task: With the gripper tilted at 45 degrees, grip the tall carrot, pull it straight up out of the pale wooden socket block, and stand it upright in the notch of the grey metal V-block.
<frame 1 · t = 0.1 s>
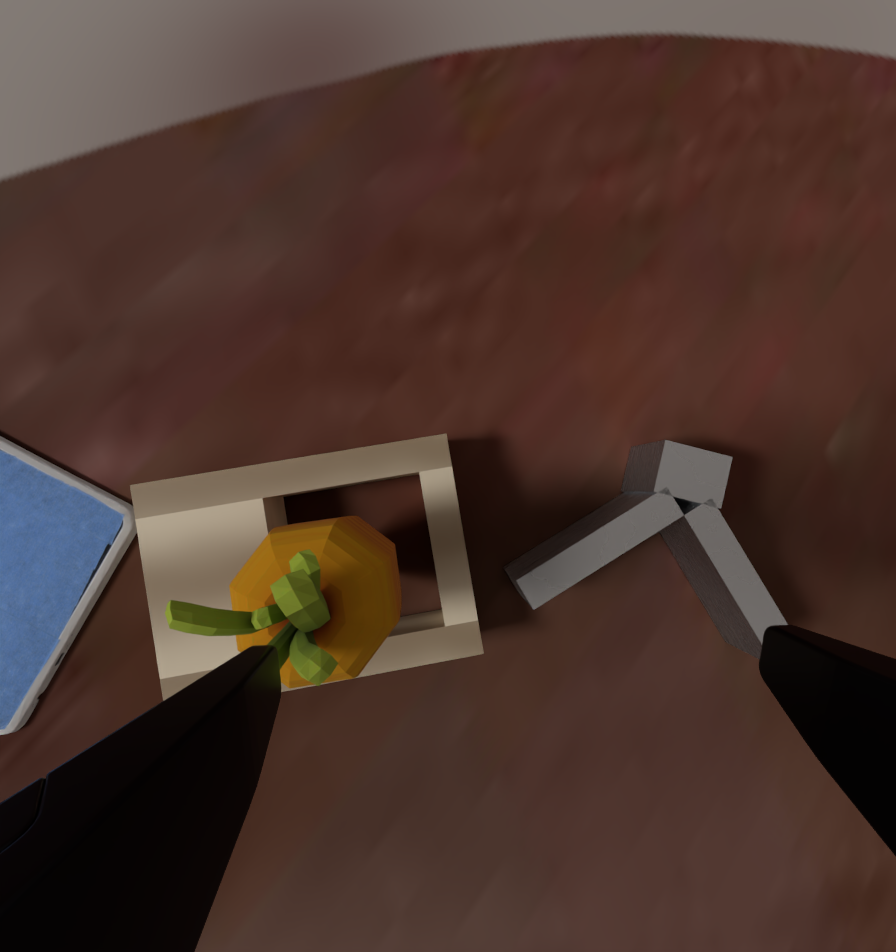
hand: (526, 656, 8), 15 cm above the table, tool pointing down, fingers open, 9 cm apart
carrot: (363, 552, 24), on the table
socket block: (363, 553, 24), on the table
v-block: (628, 591, 24), on the table
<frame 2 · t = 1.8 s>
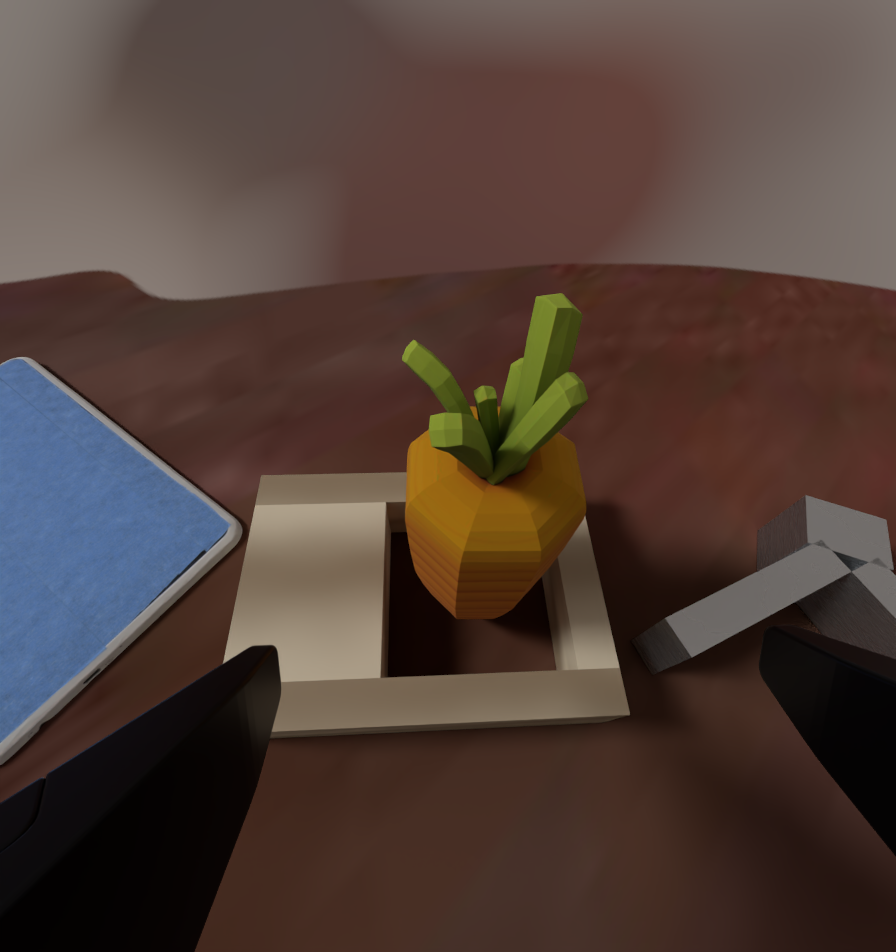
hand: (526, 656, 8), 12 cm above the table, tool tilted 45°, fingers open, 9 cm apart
carrot: (467, 603, 21), on the table
socket block: (468, 601, 21), on the table
v-block: (795, 695, 19), on the table
tablet computer: (23, 525, 23), on the table
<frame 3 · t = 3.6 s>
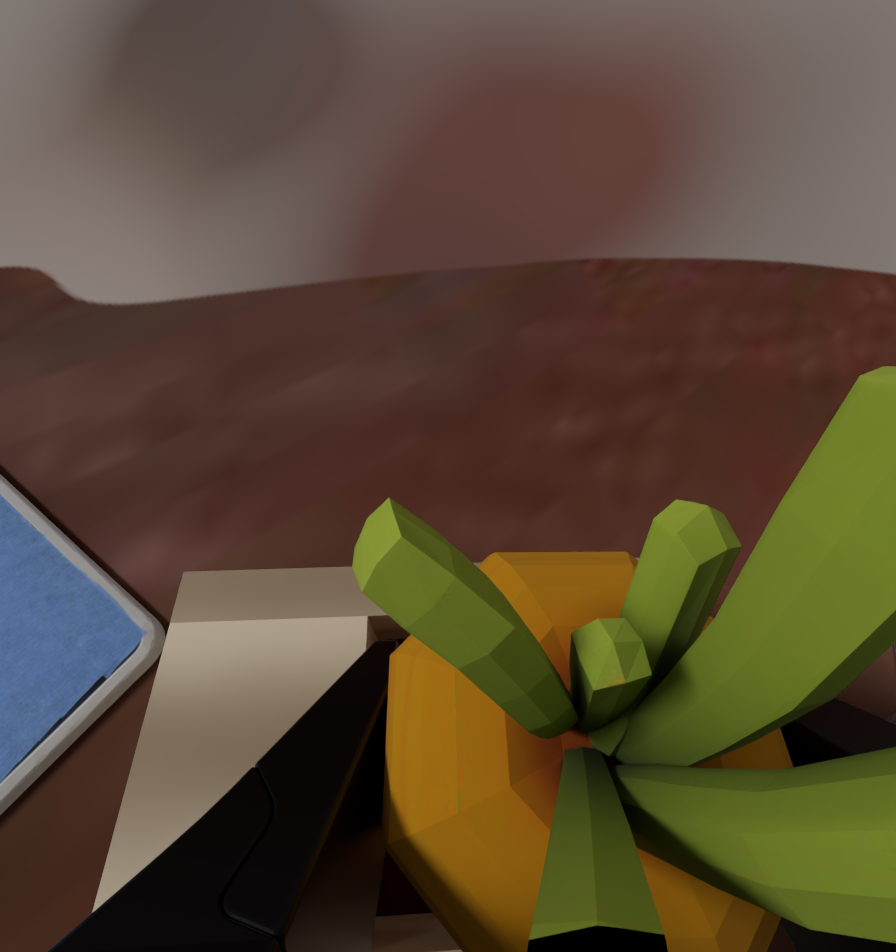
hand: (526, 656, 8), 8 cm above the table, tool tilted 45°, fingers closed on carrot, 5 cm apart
carrot: (488, 754, 14), on the table, touching gripper
socket block: (489, 754, 14), on the table
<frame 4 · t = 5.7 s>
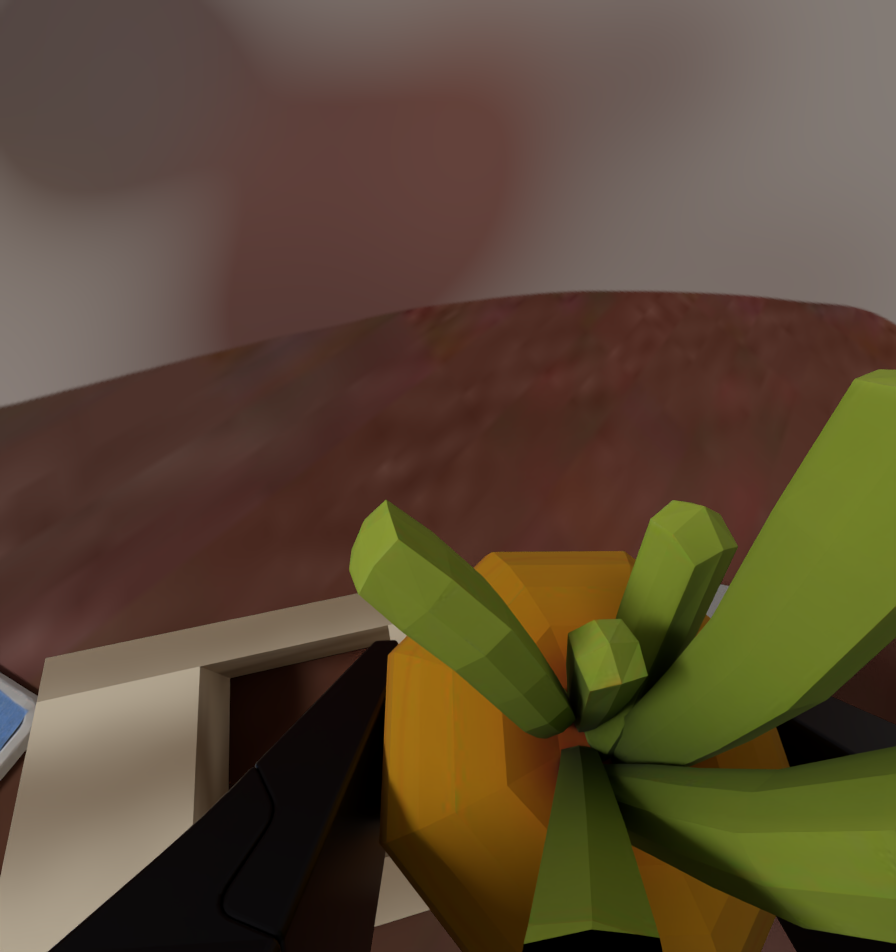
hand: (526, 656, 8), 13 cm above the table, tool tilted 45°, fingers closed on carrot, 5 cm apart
carrot: (486, 751, 14), point 5 cm above the table, touching gripper
socket block: (320, 750, 18), on the table
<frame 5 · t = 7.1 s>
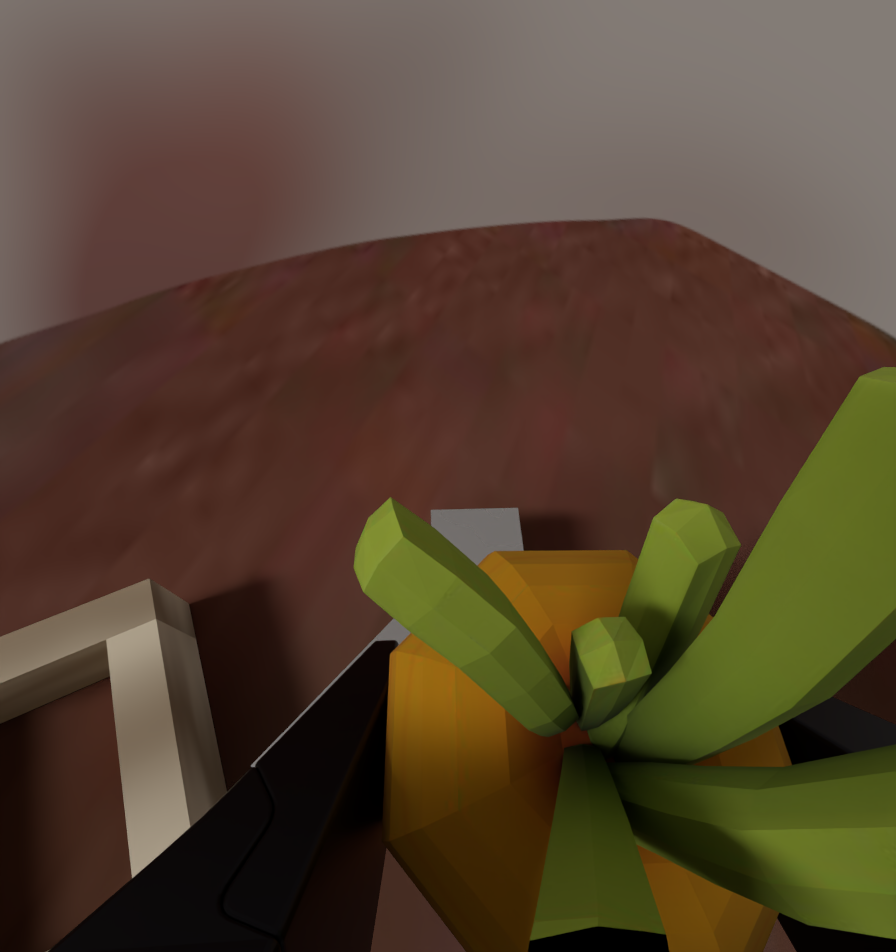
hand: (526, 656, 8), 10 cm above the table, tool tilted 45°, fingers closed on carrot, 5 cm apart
carrot: (487, 751, 14), point 2 cm above the table, touching gripper
socket block: (55, 811, 15), on the table
v-block: (482, 744, 16), on the table
when the fingers open (9 cm above the table, at t = 7.7 s): carrot drops 1 cm, on the table.
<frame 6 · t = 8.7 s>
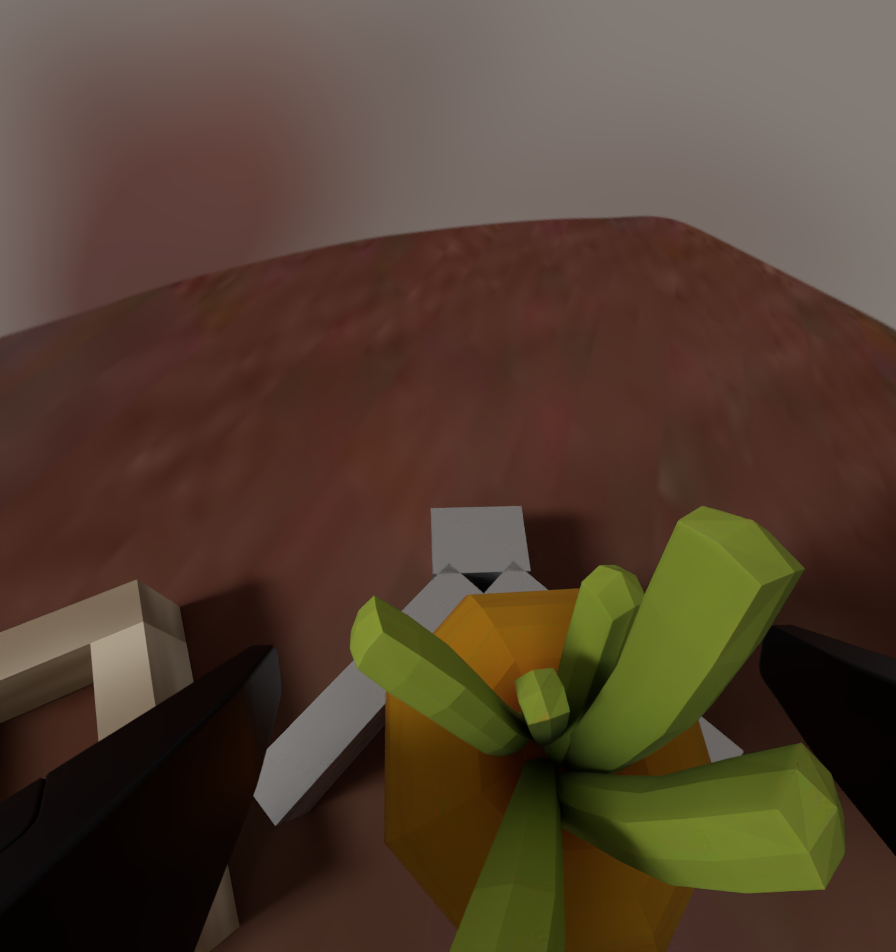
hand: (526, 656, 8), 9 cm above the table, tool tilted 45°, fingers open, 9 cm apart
carrot: (485, 754, 16), on the table
socket block: (34, 825, 14), on the table
v-block: (484, 753, 15), on the table
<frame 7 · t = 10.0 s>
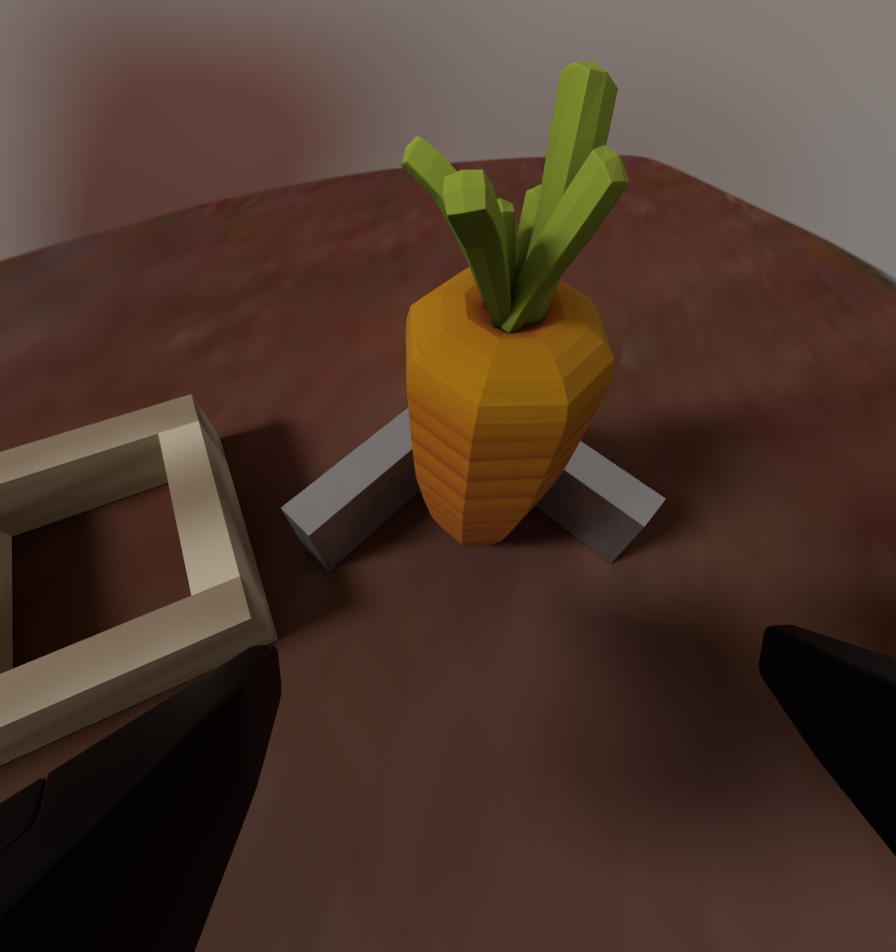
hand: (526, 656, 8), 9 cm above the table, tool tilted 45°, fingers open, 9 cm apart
carrot: (469, 539, 19), on the table
socket block: (115, 576, 18), on the table
v-block: (469, 536, 19), on the table
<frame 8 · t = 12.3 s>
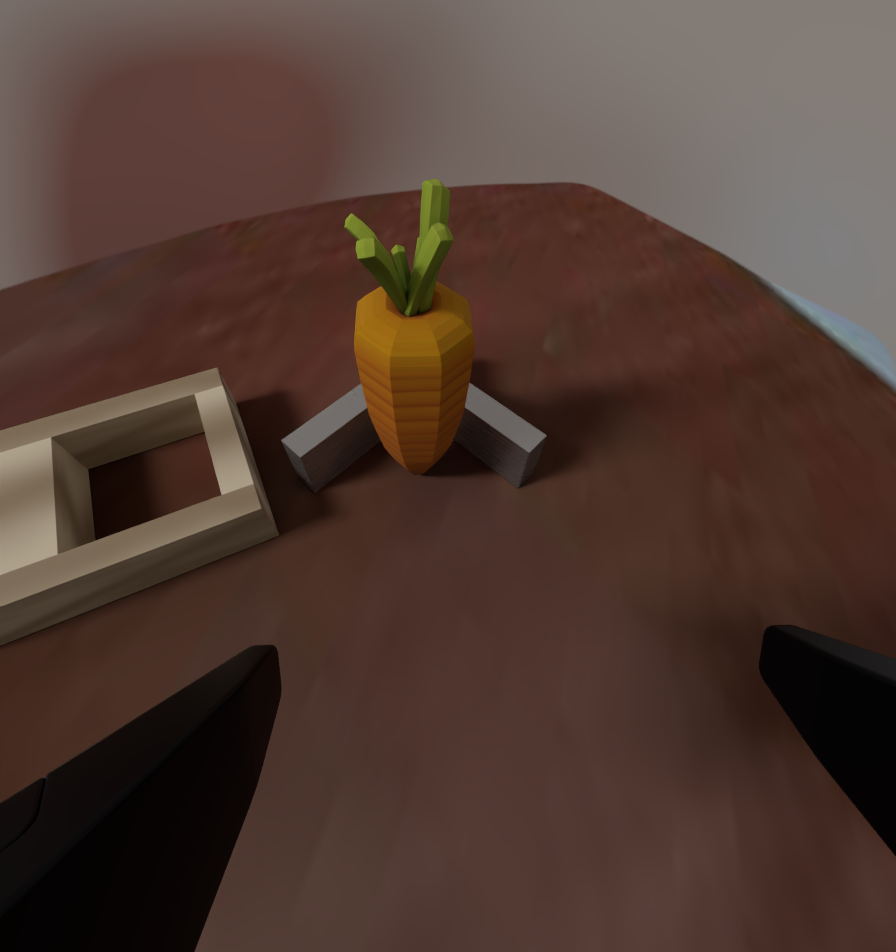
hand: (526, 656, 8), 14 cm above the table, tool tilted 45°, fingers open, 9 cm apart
carrot: (418, 472, 27), on the table
socket block: (163, 495, 25), on the table
v-block: (417, 470, 27), on the table
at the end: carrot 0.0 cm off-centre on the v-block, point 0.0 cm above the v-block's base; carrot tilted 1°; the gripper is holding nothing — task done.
